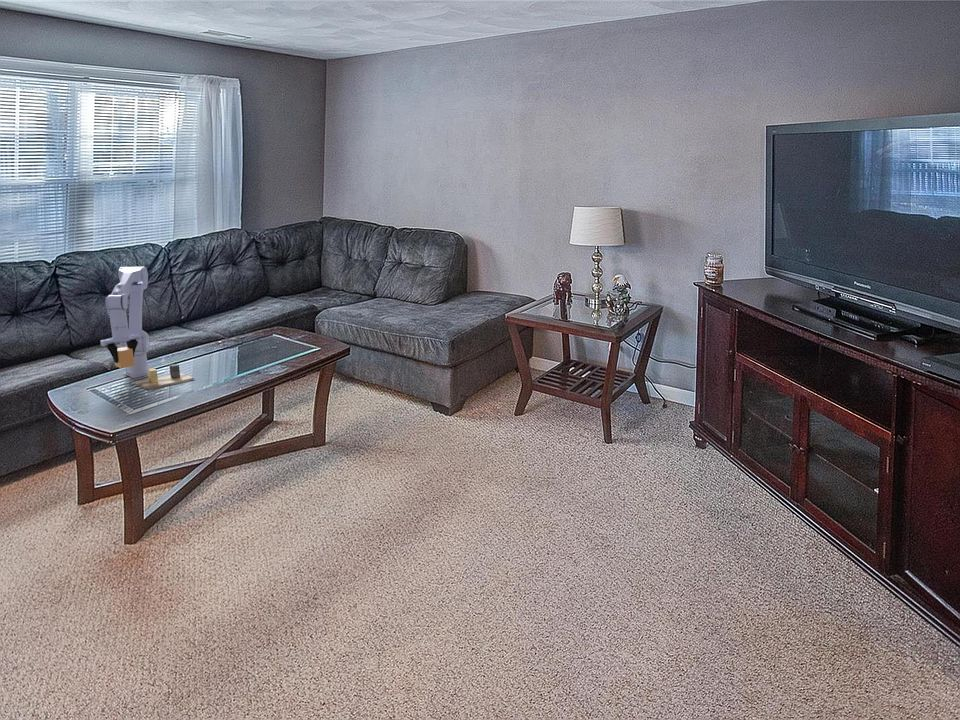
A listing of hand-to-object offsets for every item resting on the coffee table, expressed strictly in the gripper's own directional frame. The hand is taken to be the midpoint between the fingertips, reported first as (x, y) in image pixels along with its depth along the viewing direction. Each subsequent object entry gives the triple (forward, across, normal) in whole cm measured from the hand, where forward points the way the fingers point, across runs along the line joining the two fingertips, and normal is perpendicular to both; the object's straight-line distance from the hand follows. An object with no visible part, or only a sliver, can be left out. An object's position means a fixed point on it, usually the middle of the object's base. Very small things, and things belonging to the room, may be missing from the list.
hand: (124, 360), depth 282 cm
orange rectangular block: (+2, 0, 0) cm, 2 cm away
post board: (+10, +12, -6) cm, 17 cm away
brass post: (+10, +8, -6) cm, 14 cm away
